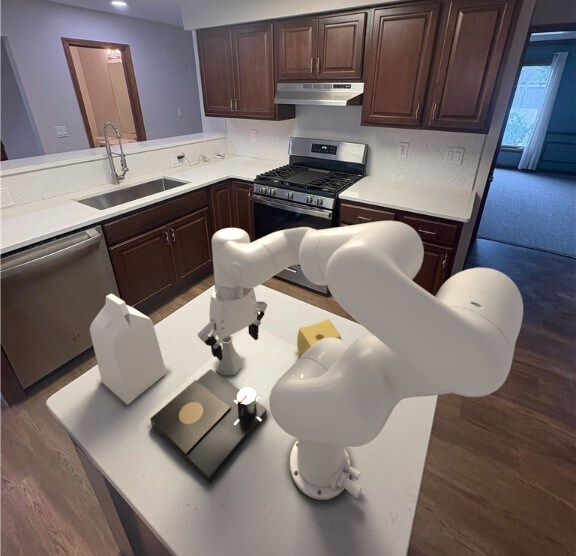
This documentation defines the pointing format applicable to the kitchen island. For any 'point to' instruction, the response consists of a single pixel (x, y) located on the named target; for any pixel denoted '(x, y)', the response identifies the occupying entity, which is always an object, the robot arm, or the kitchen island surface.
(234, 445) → the hob
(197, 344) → the kitchen island surface
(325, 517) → the kitchen island surface
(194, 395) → the burner
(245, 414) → the hob knob
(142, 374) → the milk
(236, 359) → the flask
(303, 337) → the cheese
